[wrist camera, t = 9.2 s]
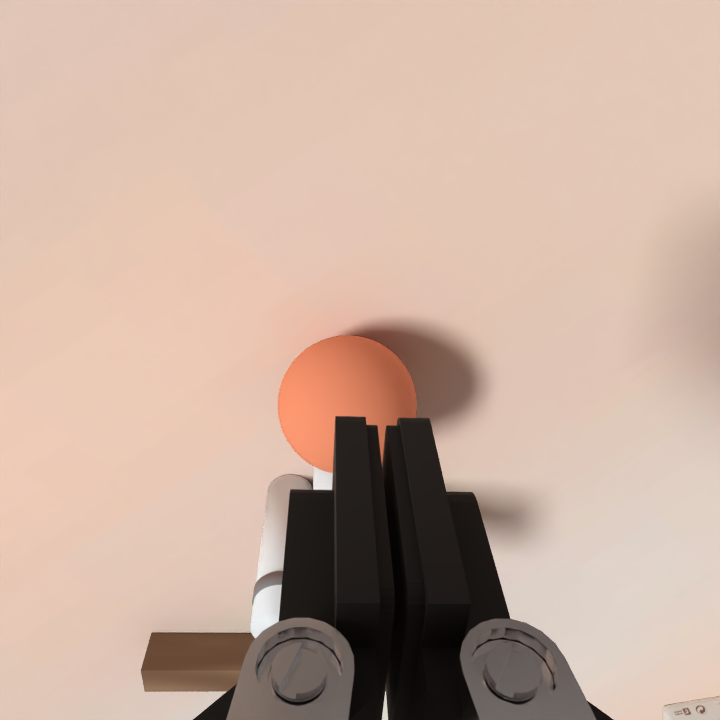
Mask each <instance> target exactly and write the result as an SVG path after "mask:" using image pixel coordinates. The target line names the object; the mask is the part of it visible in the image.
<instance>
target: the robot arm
mask: <svg viewBox="0 0 720 720" xmlns="http://www.w3.org/2000/svg"><path fill="white" fill-rule="evenodd" d="M385 687H386V695H387V708H388V720H613V719H612V718H610V717H609V716H608V715H606V714H605V713H603V712H602V711H601V710H599V709H598V708H597V707H595V706H594V705H592V704H591V703H590V702H588V701H587V700H586V698H585V696H584V694H583V692H582V690H581V688H580V686H579V684H578V682H577V680H576V679H575V677H574V675H573V673H572V671H571V669H570V667H569V665H568V663H567V661H566V659H565V657H564V656H563V654H562V653H561V651H560V650H559V648H558V647H557V645H556V644H555V643H554V642H553V641H552V640H551V639H550V638H549V637H547V636H546V635H545V634H544V633H543V632H542V631H540V630H538V629H536V628H534V627H533V626H531V625H529V624H527V623H524V622H520V621H516V620H513V619H510V616H509V612H508V609H507V605H506V602H505V598H504V595H503V591H502V588H501V584H500V580H499V577H498V573H497V570H496V566H495V563H494V559H493V556H492V552H491V549H490V545H489V542H488V538H487V535H486V531H485V528H484V524H483V520H482V517H481V513H480V510H479V506H478V503H477V500H476V497H475V495H474V494H473V493H472V492H446V489H445V484H444V480H443V475H442V471H441V467H440V462H439V458H438V453H437V449H436V445H435V440H434V436H433V431H432V427H431V423H430V419H429V418H398V420H397V426H396V425H387V426H386V430H385V440H384V451H383V462H382V463H381V453H380V444H379V434H378V426H377V425H366V417H356V416H335V433H334V457H333V480H332V490H305V489H290V495H289V506H288V518H287V530H286V541H285V553H284V564H283V576H282V588H281V599H280V611H279V622H277V623H275V624H273V625H272V626H270V627H268V628H267V629H265V630H263V631H262V632H261V633H260V634H259V636H258V637H257V638H256V639H255V640H254V641H253V642H252V644H251V646H250V648H249V650H248V652H247V654H246V656H245V659H244V662H243V665H242V669H241V672H240V675H239V679H238V682H237V684H236V685H235V686H233V687H232V688H231V689H230V690H229V691H227V692H226V693H225V694H224V695H223V696H221V697H220V698H219V699H218V700H216V701H215V702H214V703H213V704H212V705H210V706H209V707H208V708H207V709H206V710H204V711H203V712H202V713H201V714H199V715H198V716H197V717H196V718H195V719H193V720H382V712H383V703H384V695H385Z"/></svg>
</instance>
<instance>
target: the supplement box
mask: <svg viewBox="0 0 720 720" xmlns="http://www.w3.org/2000/svg"><path fill="white" fill-rule="evenodd" d="M663 720H720V696H718V697H712V698H705V699H700V700H694V701H688V702H682V703H676V704H671V705H666V706H664V707H663Z"/></svg>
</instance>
